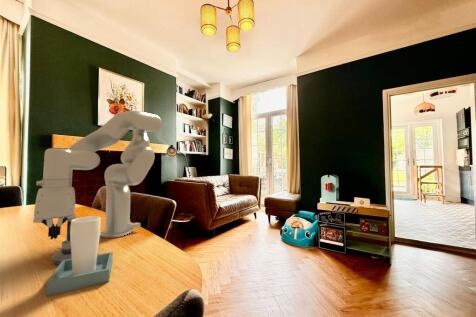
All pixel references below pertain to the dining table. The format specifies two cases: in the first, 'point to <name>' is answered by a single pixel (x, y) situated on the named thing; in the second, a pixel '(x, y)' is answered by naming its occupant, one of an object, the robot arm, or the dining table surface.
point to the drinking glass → (84, 243)
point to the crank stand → (60, 257)
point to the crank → (66, 244)
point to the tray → (79, 275)
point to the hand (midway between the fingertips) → (54, 237)
